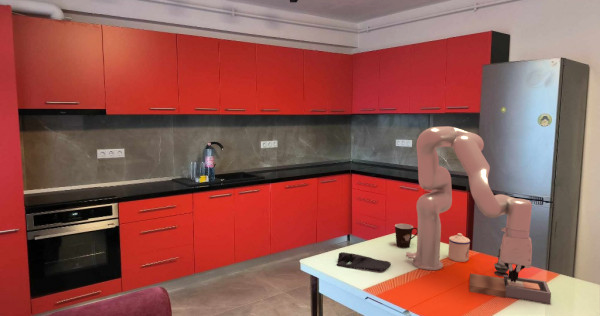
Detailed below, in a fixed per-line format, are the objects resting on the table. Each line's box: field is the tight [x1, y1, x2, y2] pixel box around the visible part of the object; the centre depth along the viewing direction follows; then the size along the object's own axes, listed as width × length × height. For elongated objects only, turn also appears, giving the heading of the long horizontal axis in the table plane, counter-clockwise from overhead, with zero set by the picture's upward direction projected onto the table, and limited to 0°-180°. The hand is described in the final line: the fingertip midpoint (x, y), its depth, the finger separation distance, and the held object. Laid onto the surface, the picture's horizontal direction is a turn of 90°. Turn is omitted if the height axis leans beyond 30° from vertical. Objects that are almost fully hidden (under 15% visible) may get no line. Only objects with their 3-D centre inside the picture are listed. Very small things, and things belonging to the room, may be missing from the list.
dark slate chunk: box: [336, 251, 392, 272], centre depth 178 cm, size 15×22×5 cm
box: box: [503, 275, 552, 305], centre depth 150 cm, size 14×11×4 cm
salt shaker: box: [493, 248, 509, 278], centre depth 168 cm, size 6×6×12 cm
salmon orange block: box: [523, 282, 540, 291], centre depth 150 cm, size 5×5×3 cm
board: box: [469, 273, 507, 298], centre depth 155 cm, size 12×12×2 cm
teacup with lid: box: [448, 232, 471, 263], centre depth 186 cm, size 12×9×12 cm
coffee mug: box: [394, 223, 418, 249], centre depth 201 cm, size 12×9×10 cm
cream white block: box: [507, 280, 524, 288], centre depth 152 cm, size 5×5×3 cm
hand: (512, 280), depth 152 cm, fingers closed
